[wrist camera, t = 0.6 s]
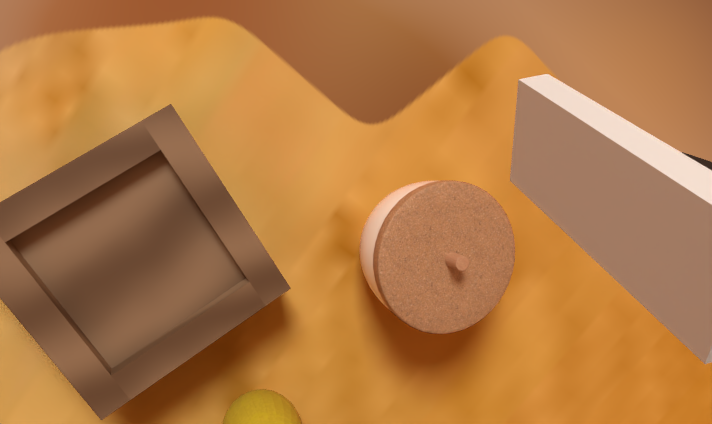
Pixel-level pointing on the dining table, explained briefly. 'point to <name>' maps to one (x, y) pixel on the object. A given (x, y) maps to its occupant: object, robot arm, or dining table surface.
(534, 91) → the robot arm
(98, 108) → the dining table surface
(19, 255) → the walnut base
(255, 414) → the lemon
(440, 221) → the lidded jar
